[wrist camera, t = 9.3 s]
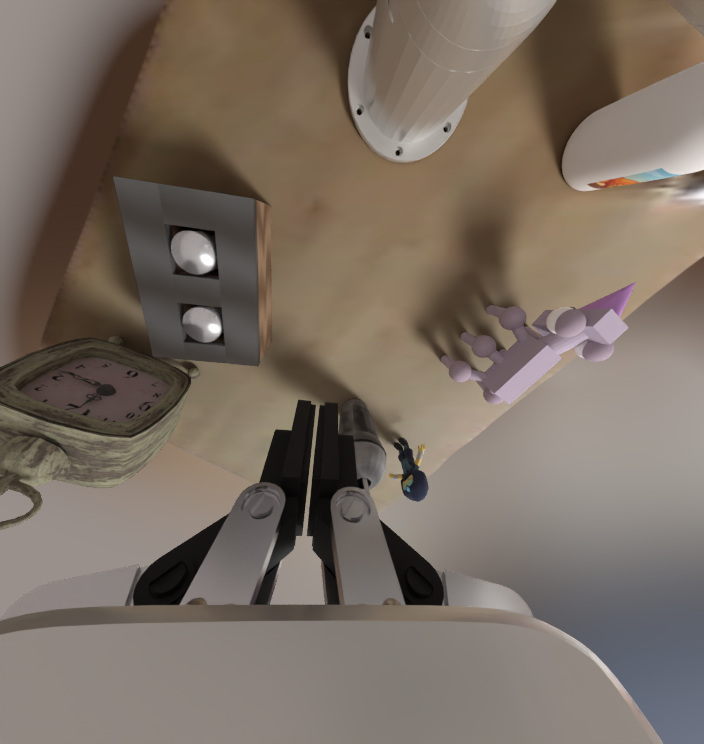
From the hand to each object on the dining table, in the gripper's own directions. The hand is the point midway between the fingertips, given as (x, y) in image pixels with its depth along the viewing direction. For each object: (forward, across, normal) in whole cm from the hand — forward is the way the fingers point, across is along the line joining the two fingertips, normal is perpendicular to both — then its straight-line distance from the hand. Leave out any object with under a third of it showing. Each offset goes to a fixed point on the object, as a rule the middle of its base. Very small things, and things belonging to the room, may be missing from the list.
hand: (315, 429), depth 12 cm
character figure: (+29, -16, +26) cm, 42 cm away
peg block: (+29, +14, 0) cm, 32 cm away
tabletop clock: (+29, +25, +15) cm, 41 cm away
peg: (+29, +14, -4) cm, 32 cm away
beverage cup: (+29, -6, +19) cm, 35 cm away
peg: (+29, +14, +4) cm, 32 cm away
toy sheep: (+29, -27, +2) cm, 40 cm away
